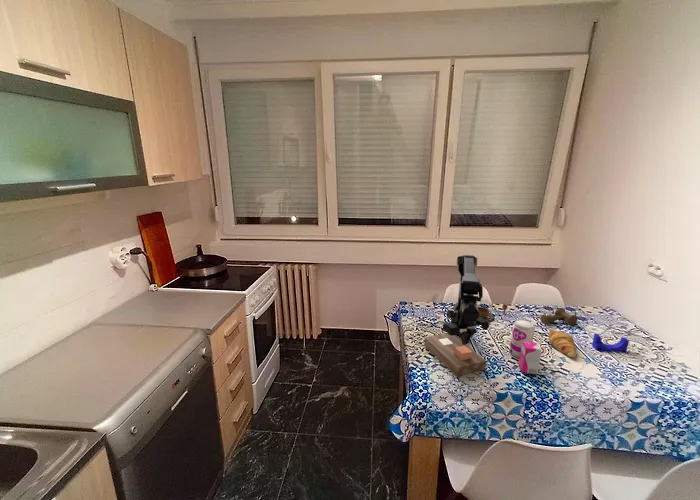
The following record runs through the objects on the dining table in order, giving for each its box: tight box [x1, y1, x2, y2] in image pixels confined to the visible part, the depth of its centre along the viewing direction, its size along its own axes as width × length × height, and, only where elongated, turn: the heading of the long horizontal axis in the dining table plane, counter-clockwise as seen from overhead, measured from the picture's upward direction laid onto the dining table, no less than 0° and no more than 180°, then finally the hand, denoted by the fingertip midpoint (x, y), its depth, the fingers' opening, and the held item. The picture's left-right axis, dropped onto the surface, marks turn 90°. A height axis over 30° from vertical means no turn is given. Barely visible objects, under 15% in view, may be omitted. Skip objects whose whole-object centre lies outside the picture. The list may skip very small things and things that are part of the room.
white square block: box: [438, 338, 453, 345], centre depth 148 cm, size 5×5×4 cm
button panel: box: [423, 332, 487, 377], centre depth 143 cm, size 14×24×4 cm, turn 20°
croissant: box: [548, 329, 577, 358], centre depth 152 cm, size 21×10×8 cm, turn 174°
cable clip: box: [591, 333, 630, 354], centre depth 149 cm, size 12×4×6 cm, turn 72°
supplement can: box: [509, 319, 536, 359], centre depth 144 cm, size 8×8×15 cm
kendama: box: [540, 307, 578, 326], centre depth 175 cm, size 6×10×20 cm
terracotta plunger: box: [454, 346, 472, 361], centre depth 137 cm, size 5×5×4 cm
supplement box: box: [518, 341, 542, 376], centre depth 133 cm, size 6×6×12 cm
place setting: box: [477, 303, 509, 325], centre depth 179 cm, size 18×20×6 cm
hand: (463, 344), depth 136 cm, fingers closed
